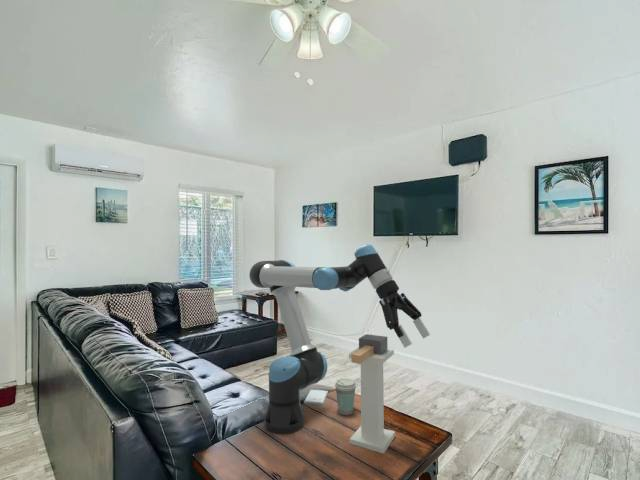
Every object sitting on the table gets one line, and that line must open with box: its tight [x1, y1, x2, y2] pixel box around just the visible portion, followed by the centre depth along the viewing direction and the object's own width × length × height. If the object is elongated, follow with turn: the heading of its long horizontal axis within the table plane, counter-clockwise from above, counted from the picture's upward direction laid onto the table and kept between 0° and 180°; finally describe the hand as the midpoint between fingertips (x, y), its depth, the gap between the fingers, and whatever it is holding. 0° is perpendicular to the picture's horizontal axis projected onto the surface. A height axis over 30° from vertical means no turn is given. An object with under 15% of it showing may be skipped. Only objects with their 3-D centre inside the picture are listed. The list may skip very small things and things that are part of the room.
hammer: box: [350, 333, 389, 365], centre depth 114 cm, size 19×8×4 cm, turn 151°
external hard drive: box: [303, 389, 329, 406], centre depth 151 cm, size 2×8×12 cm
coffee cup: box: [334, 378, 357, 416], centre depth 138 cm, size 8×9×12 cm
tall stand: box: [348, 347, 396, 455], centre depth 117 cm, size 12×12×30 cm
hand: (418, 341), depth 110 cm, fingers open, 13 cm apart
